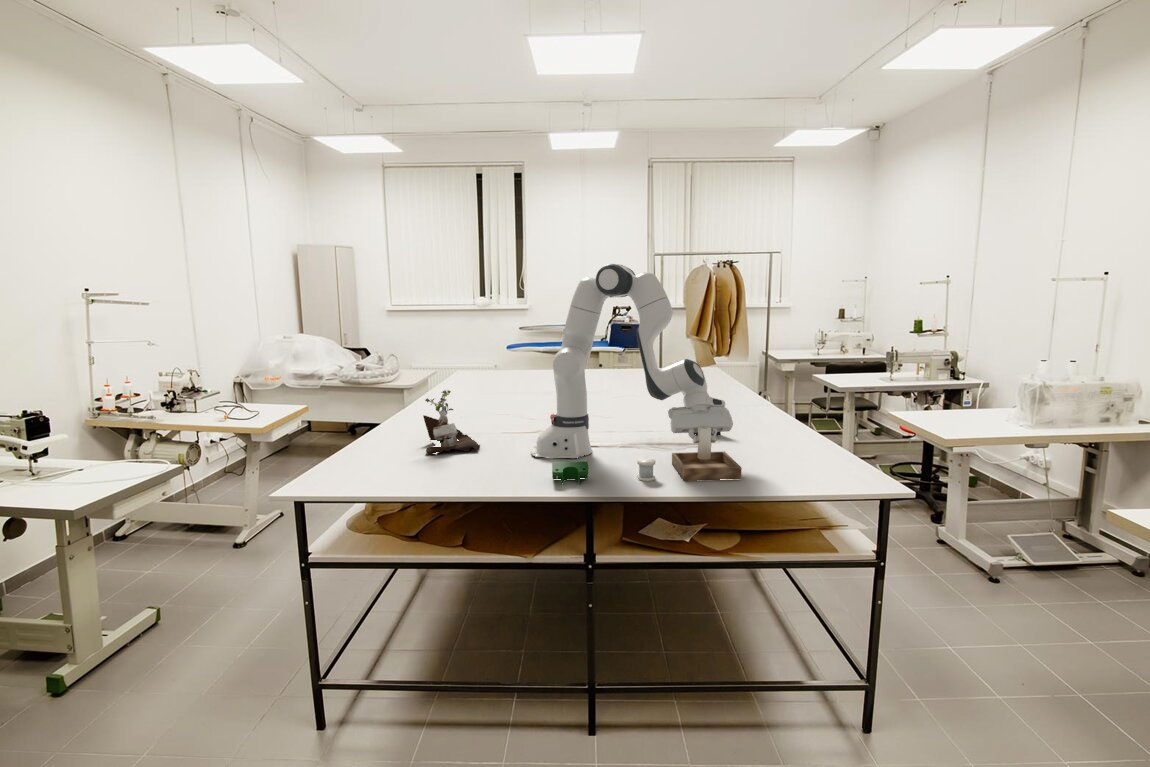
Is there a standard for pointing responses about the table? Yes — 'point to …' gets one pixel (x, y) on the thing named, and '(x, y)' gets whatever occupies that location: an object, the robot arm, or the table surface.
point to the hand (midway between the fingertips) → (704, 442)
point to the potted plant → (446, 431)
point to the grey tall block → (704, 442)
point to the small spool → (646, 469)
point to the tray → (705, 466)
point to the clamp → (570, 470)
